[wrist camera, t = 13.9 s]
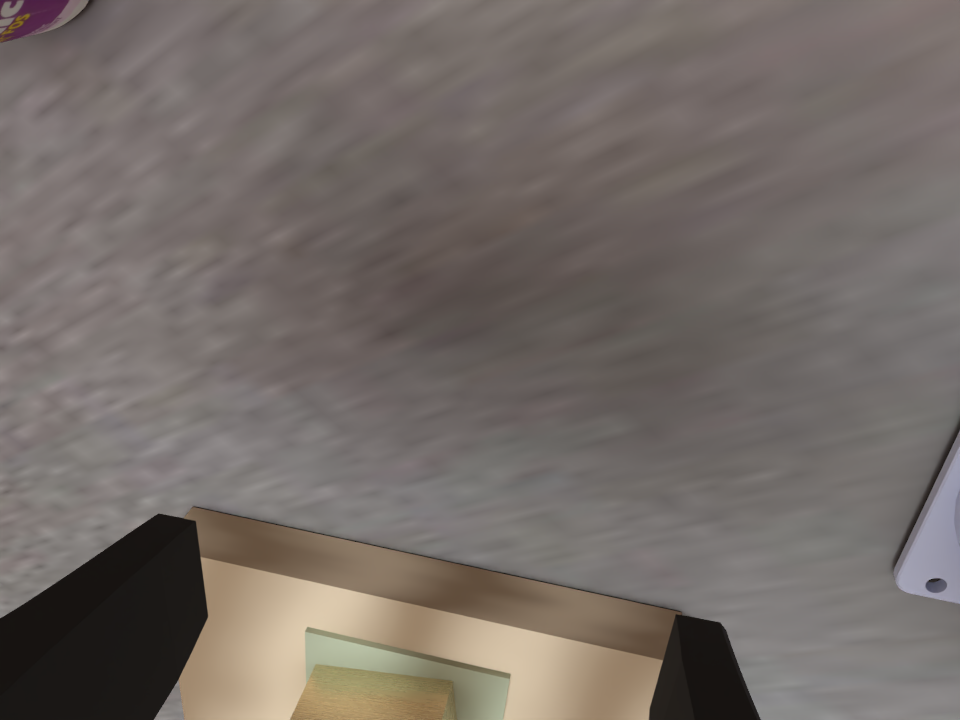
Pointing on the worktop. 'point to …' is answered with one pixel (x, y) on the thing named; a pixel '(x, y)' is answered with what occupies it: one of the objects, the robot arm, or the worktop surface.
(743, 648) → the worktop surface
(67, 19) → the pill bottle
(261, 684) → the birch stand
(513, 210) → the worktop surface
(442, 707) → the block
